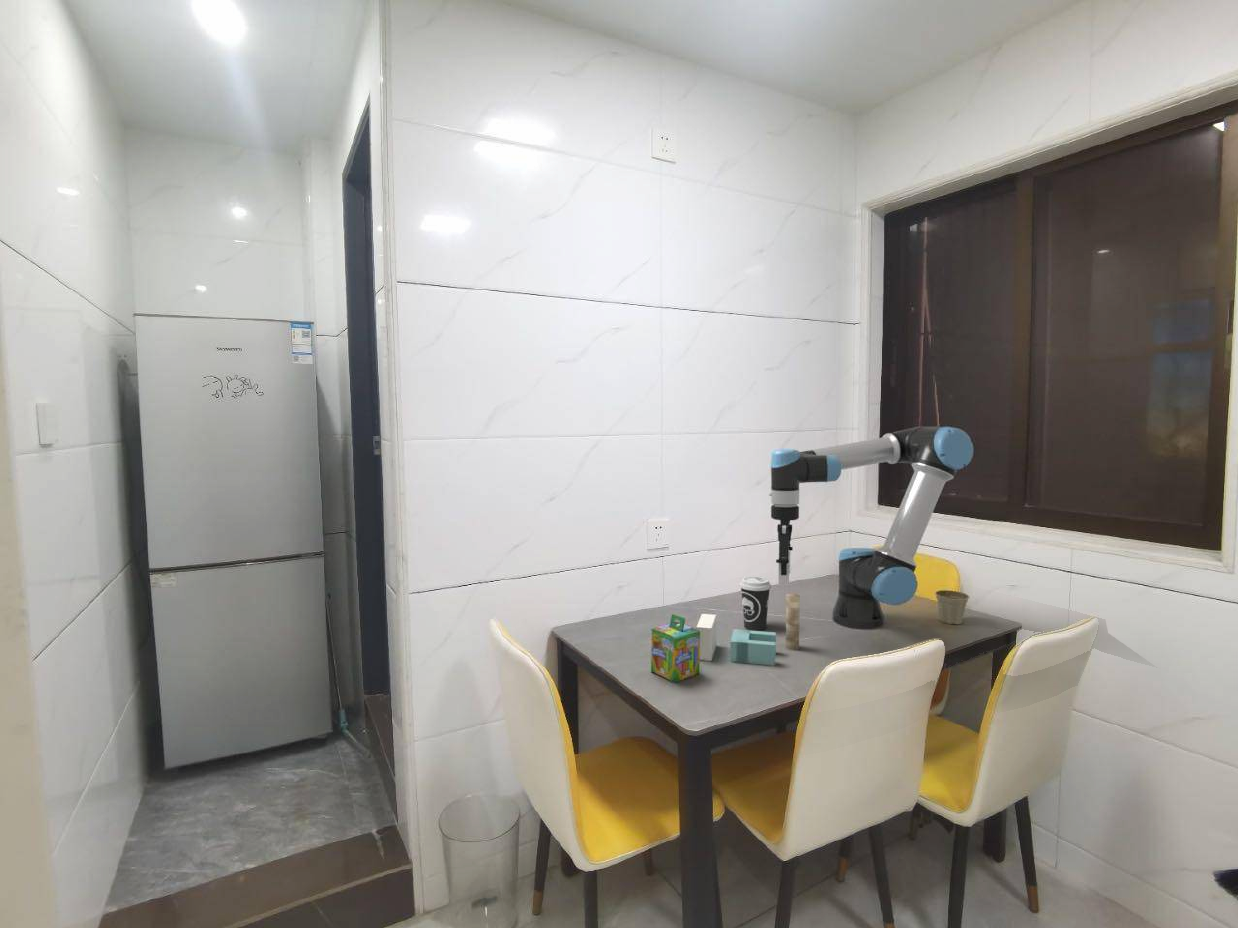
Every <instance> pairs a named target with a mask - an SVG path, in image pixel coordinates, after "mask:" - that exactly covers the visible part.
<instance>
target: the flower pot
mask: <svg viewBox="0 0 1238 928" xmlns="http://www.w3.org/2000/svg"><path fill="white" fill-rule="evenodd" d="M934 594H935V596H936V600H937V606H938V616H939V620H940V622H942V623H945V624H949V625H952V624H954V625H960V624H962V623H963V620H964V616H965V615H964V614H965V610H966V606H967V603H968V601H969V599H970V595H968V594H966V593H965V592H961V591H956V590H948V589H942V590H940V589H939V590H936V591H935V592H934Z"/></svg>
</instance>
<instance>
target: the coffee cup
mask: <svg viewBox="0 0 1238 928" xmlns="http://www.w3.org/2000/svg"><path fill="white" fill-rule="evenodd" d="M739 588H740V592H741V602H742V613H743V624H744V625H743V626H744V628H745V630H750V631H762V632H763V631H764V630H766V628H767V620H768V619H767V618H768V609H769V598H770V590H771V588H772V585H771V583H770V581H769V579H768V578H766V577H762V576H756V575H755V576H754V575H752V576H745V577H743V578H741V581H740V582H739Z"/></svg>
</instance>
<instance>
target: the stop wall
mask: <svg viewBox="0 0 1238 928" xmlns="http://www.w3.org/2000/svg"><path fill="white" fill-rule="evenodd" d="M695 629H697V630H699V631H700V661H707V662H711V661H712V660H713V657H714V653H715V650H716V647H717V614H709V613H702V614H701V616H700V618H699V620H698V622H697V625H696V627H695Z"/></svg>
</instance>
